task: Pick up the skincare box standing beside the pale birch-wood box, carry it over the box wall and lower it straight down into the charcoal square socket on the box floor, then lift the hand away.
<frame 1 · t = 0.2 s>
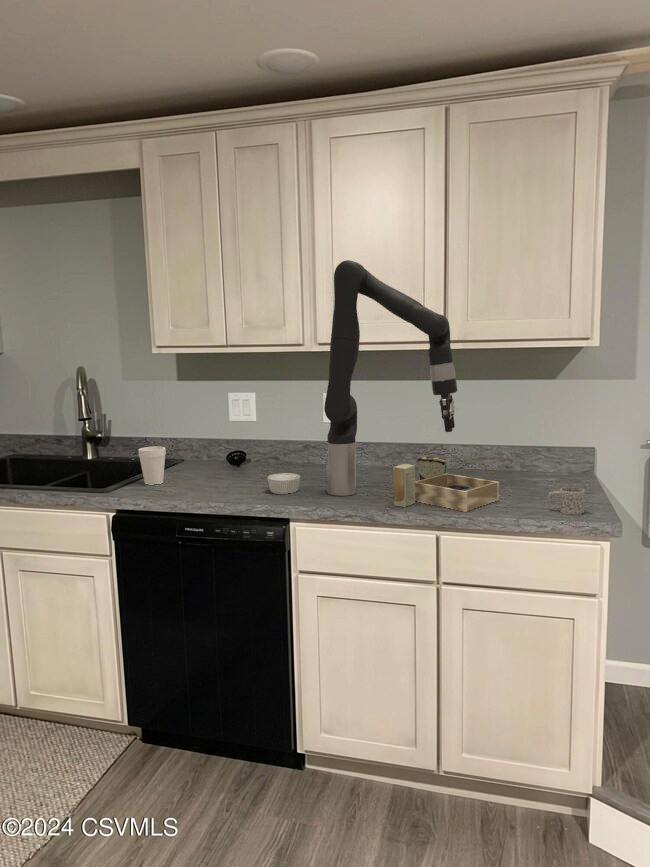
hand: (450, 429, 210), 22 cm above the worktop, tool pointing down, fingers open, 8 cm apart
skincare box: (404, 505, 208), on the worktop
foam cup: (154, 484, 245), on the worktop
walled box: (455, 500, 211), on the worktop
mug: (565, 512, 196), on the worktop
ramekin: (284, 492, 229), on the worktop
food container: (435, 485, 234), on the worktop
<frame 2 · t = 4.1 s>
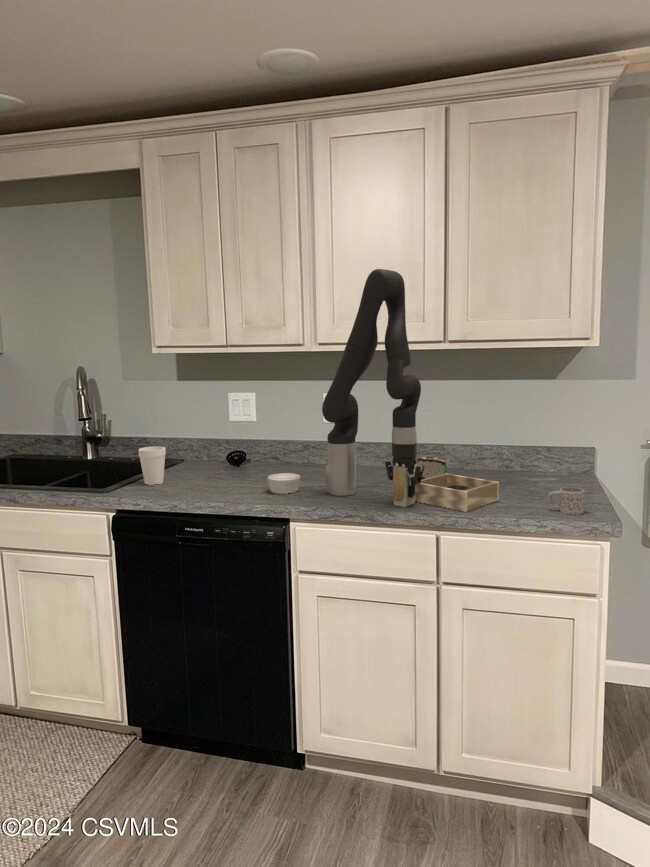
hand: (404, 495, 207), 3 cm above the worktop, tool pointing down, fingers closed on skincare box, 4 cm apart
skincare box: (404, 505, 208), on the worktop, touching gripper
everything else where it was.
when the fingers open (5 cm above the worktop, at t = 9.5 s): skincare box drops 1 cm, resting on walled box.
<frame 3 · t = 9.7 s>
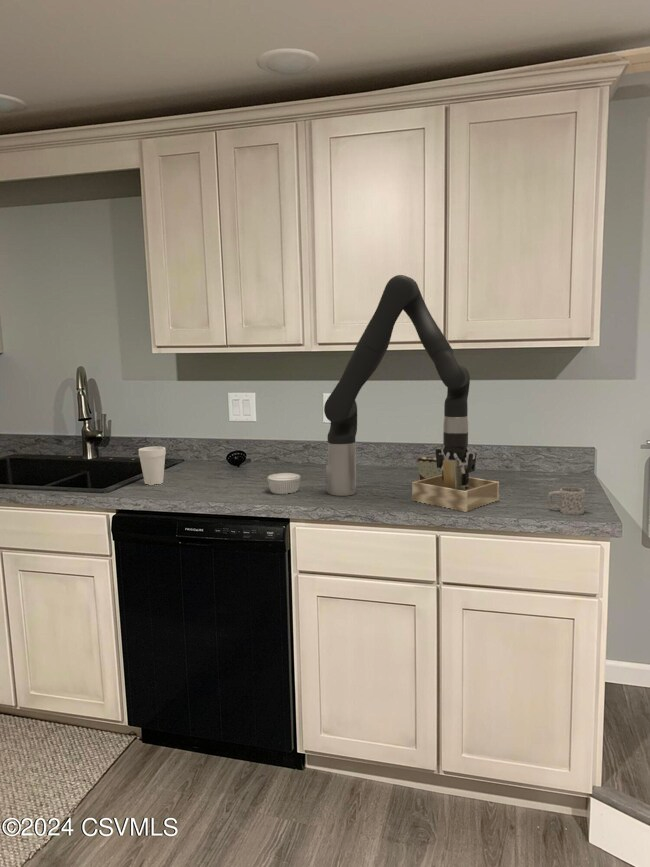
hand: (455, 483, 210), 6 cm above the worktop, tool pointing down, fingers open, 6 cm apart
skincare box: (454, 498, 211), point 1 cm above the worktop, touching walled box
everything else where it was.
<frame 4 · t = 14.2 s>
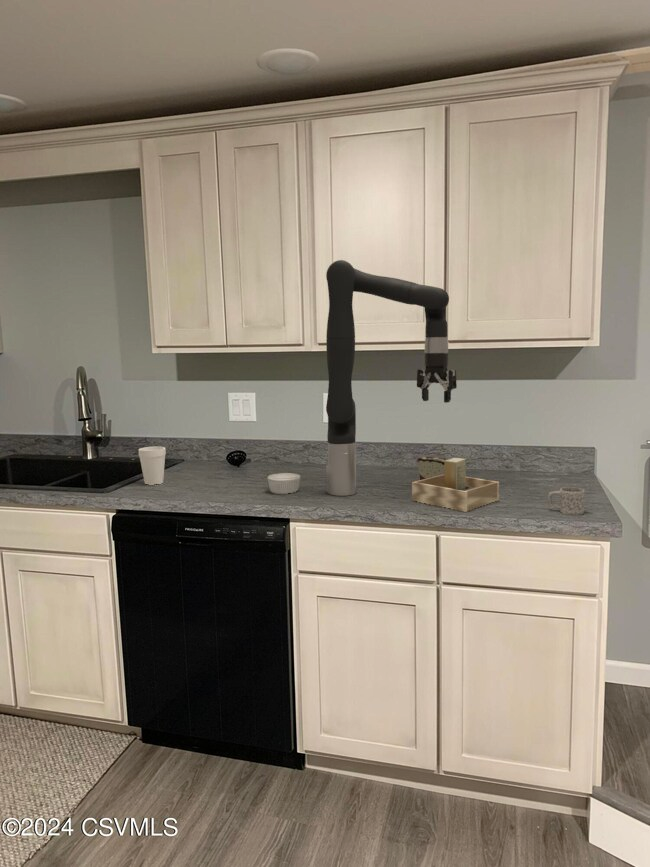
hand: (436, 401, 219), 30 cm above the worktop, tool pointing down, fingers open, 8 cm apart
nothing on the worktop moved.
at the end: skincare box 0.1 cm off-centre on the walled box, point 0.8 cm above the walled box's base; skincare box tilted 0°; the gripper is holding nothing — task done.
